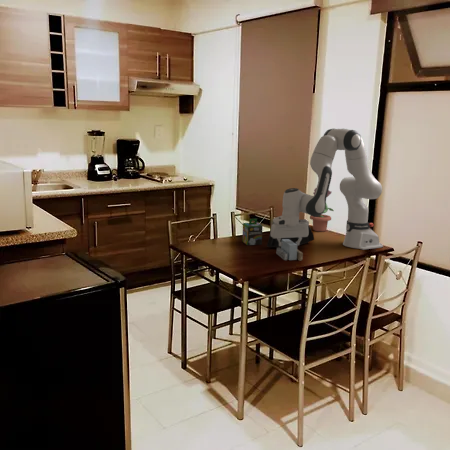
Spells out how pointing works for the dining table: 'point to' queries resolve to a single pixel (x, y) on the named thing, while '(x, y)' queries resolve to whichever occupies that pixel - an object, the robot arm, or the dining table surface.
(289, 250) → the book
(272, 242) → the magazine
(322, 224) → the decorative flower
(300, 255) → the shelf wall
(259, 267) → the dining table surface
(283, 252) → the gray flat block
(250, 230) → the chalk box
